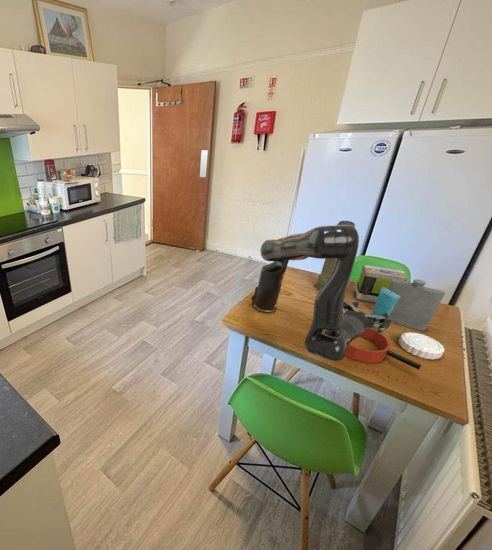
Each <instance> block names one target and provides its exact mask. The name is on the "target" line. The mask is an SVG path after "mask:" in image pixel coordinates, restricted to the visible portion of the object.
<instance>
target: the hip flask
mask: <svg viewBox="0 0 492 550" xmlns="http://www.w3.org/2000/svg"><path fill="white" fill-rule="evenodd" d="M426 284H427V282H426V281H425V280H422V279H417V278H416V279H413V282H409V281H407V282H405V281H400V280H397V279H392V281H391V283H390V285H389V287H388V290H390V291H392V292H393V293H395V294H397V295H399V296H400V298H399V299H398V301H397V303H396V304H395V306H394V308H393V310H392V312H391V314H390V316H389V318H388V319H387V320H391V323H393V324H397V325H401V326H404V327H407V328H411V329H414V330H419V331H426V329H428V328H427V327H428V326H429V324H430V322H431V320H432V319H433V317H434V315H435V313H436V311H437V310H438V308H439V306H440V304H441V302H442V300H443V299H444V296H445V295H446V291H444V290H441V289H437V288H432V287H428V286H426Z"/></svg>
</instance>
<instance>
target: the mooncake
mask: <svg viewBox="0 0 492 550" xmlns="http://www.w3.org/2000/svg"><path fill="white" fill-rule="evenodd" d="M398 345H399V346H400V347H401V349H403V350H405V352H406V353H410V355H412V356H416V357H418V358H421V359H425V360H438V359H441V358H442V356H443V354H444V352H445V347H444V345H443V344H441V342H439V341H437V340H436V339H435V338H432V337H430V336H428V335H425V334H423V333H418V332H413V331H412V332H411V331H408V332H404V333H402V334H401V335H400V337H399V338H398Z"/></svg>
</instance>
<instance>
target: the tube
mask: <svg viewBox="0 0 492 550" xmlns="http://www.w3.org/2000/svg"><path fill="white" fill-rule="evenodd" d="M399 298H400V296H399V295H397V294H395V293H393V292H392V291H390V290H388V289H386V288H384V287H383V286H382V288H381V291H380V294H379V296H378V299H377V302H376V303H375V304H374V306H373V309H372V312H371V314H370V315H377V316H382V315H383V314H384V313H388V314H387V315H389V316H390V314H391V312H392V310H393V308H394V306H395V304H396V303H397V301H398V299H399ZM388 318H389V317H388ZM372 319H373V318H372ZM378 321H379V320H378ZM371 328H372V329H375V330H378V329H376V328H374V327H371Z"/></svg>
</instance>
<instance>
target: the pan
mask: <svg viewBox="0 0 492 550" xmlns="http://www.w3.org/2000/svg"><path fill="white" fill-rule="evenodd" d="M360 337H362V338H363V339H366V340H368V341H371V342H372V343H373V344H374V345H375V346H377V347H378V348H379V349H380V350H379V349H378V350H371V349H365V348H360V347H357V346H355V345H353V344H351V343H350V344H349V345H348V347H347V351H346V354H345V357H348V358H350V359H352V360H356V361H358V362H363V363H366V364H367V363H369V364H370V363H371V364H372V363H380V362H382V361H383V360H384V359H385V358H386V357H387V356H389V357H391V358H393V359H395V360H397V361H398V362H399V361H400V362H402V363H403V364H406V365H408V366H410V367H412V368H414V369H415V370H420V369H421V368H422V364H421V363H418V362H416V361H414V360H412V359H409V358H408V357H405V356H403V355H401V354H399V353H396V352H394V351H392V350H390V349H391V343H390V341H389V339H388V337H386V336H385V335H384V334H383V333H379V332H377V330H375V329H372V328H368V329H367V330H366V331H365V332H364V333H363V334H362V335H361V336H360Z"/></svg>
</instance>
